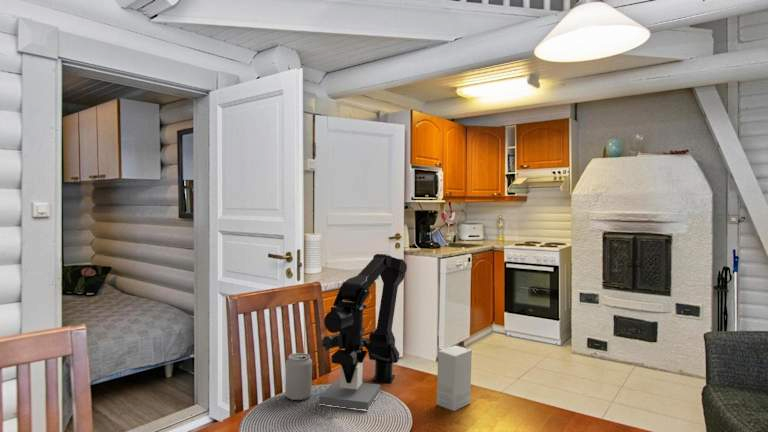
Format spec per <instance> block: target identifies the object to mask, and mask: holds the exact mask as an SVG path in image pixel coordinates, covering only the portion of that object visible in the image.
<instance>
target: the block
mask: <svg viewBox="0 0 768 432" xmlns="http://www.w3.org/2000/svg"><path fill="white" fill-rule="evenodd" d="M363 363H364V362H362V363H360V362H358V364H357V367H356V370H355V372H354V375H353V378H352V381H351V383H346V379H345V375H344V371H343V368H342V366H341V365H340V379H339V380H340V387H341V388H349V389H358V388H359V387H360V385H361V384H362V383H363V365H364V364H363Z"/></svg>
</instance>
